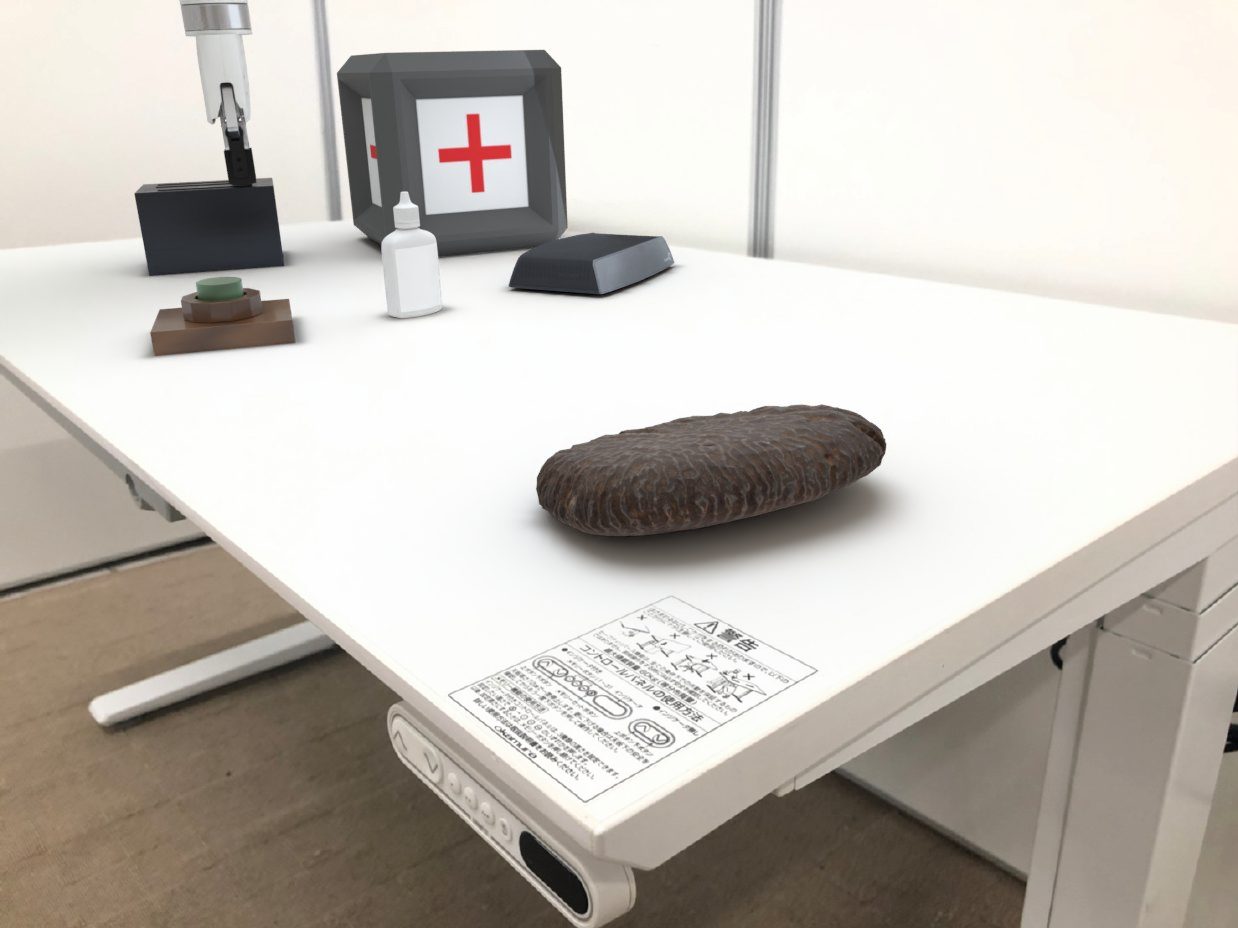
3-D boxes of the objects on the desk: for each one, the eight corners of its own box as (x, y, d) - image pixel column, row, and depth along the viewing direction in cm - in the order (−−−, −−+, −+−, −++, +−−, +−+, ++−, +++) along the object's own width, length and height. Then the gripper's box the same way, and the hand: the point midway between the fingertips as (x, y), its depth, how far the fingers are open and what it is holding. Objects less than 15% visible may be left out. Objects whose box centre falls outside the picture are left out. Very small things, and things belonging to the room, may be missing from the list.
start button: (197, 305, 96) (194, 286, 95) (199, 297, 99) (196, 278, 99) (244, 301, 97) (241, 282, 96) (244, 293, 100) (241, 275, 100)
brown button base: (154, 356, 93) (146, 312, 92) (163, 331, 102) (155, 290, 101) (295, 343, 96) (289, 300, 95) (292, 320, 105) (286, 280, 104)
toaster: (149, 276, 130) (133, 192, 126) (156, 262, 140) (142, 183, 136) (284, 266, 134) (273, 184, 131) (282, 253, 144) (272, 176, 141)
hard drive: (680, 267, 127) (680, 233, 126) (607, 299, 111) (606, 260, 110) (585, 261, 133) (584, 228, 131) (502, 290, 117) (499, 253, 115)
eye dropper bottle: (446, 315, 106) (436, 192, 101) (389, 320, 104) (376, 196, 100) (440, 306, 110) (430, 188, 105) (385, 311, 108) (372, 191, 104)
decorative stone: (756, 435, 70) (758, 361, 68) (925, 501, 59) (933, 416, 57) (497, 505, 60) (491, 421, 58) (643, 601, 49) (641, 501, 47)
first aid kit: (352, 238, 155) (331, 56, 146) (512, 224, 165) (502, 52, 156) (392, 263, 134) (371, 52, 125) (574, 246, 144) (566, 49, 135)
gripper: (187, 25, 131) (213, 178, 137) (178, 21, 116) (208, 192, 123) (251, 23, 133) (273, 174, 139) (250, 19, 118) (275, 187, 125)
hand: (242, 181), depth 131 cm, fingers closed
